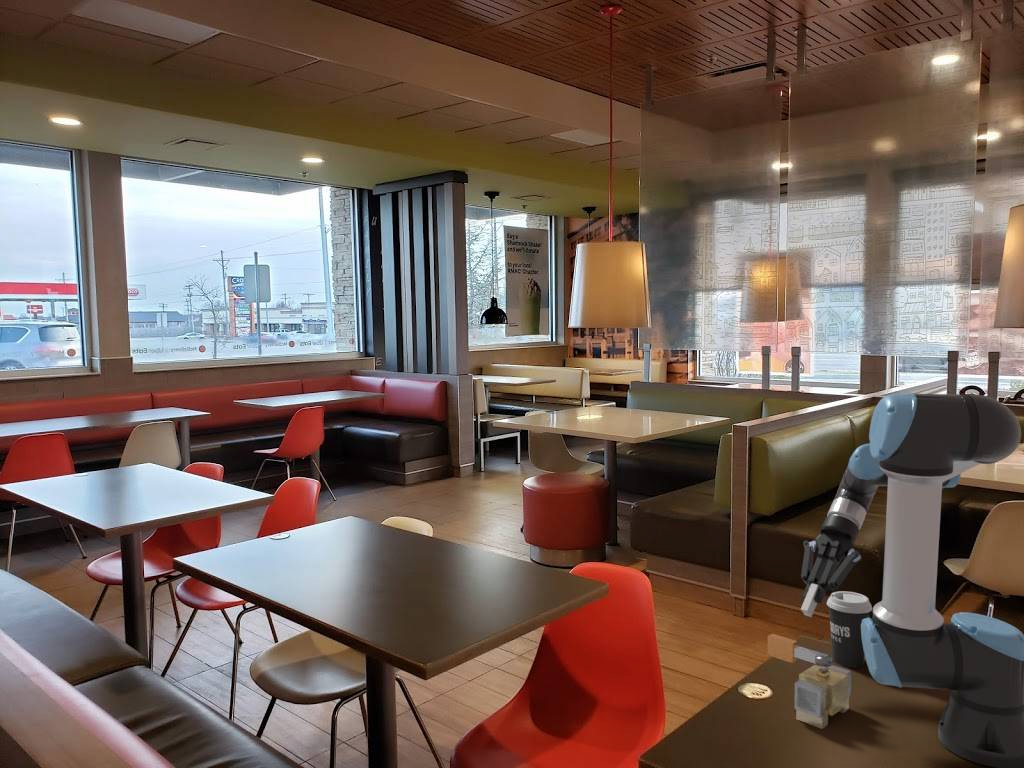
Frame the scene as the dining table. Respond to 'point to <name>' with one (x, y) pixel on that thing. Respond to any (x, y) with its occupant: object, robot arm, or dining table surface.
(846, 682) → the valve body
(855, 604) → the coffee cup
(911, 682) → the robot arm
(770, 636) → the lever
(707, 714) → the dining table surface
